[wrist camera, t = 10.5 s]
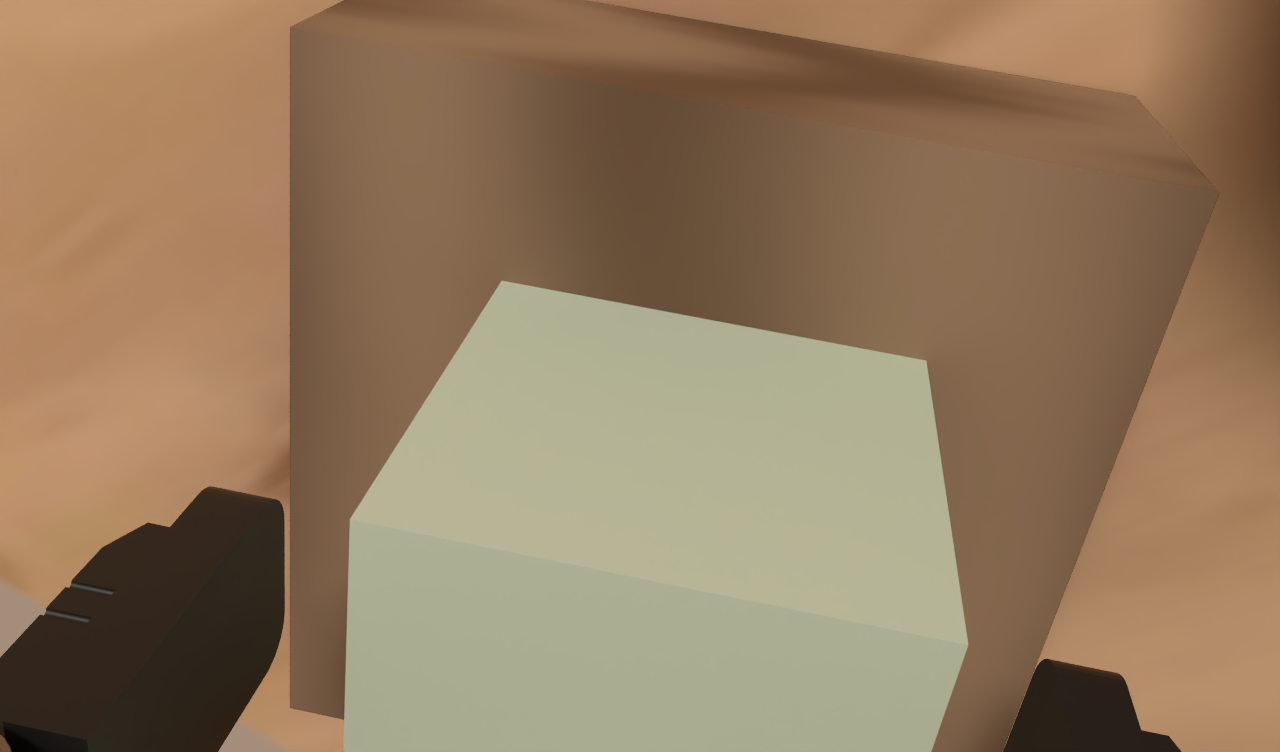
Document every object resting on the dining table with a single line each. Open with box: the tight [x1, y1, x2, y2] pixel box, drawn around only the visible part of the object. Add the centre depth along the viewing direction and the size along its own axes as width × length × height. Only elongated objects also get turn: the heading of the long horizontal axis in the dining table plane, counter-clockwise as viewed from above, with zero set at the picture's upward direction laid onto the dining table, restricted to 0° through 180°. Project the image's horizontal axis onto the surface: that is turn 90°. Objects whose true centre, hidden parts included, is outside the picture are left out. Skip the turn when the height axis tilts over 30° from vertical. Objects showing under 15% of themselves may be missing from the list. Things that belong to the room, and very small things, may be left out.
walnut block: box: [290, 0, 1219, 752], centre depth 17 cm, size 10×10×4 cm
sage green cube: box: [343, 281, 968, 752], centre depth 13 cm, size 5×5×5 cm
